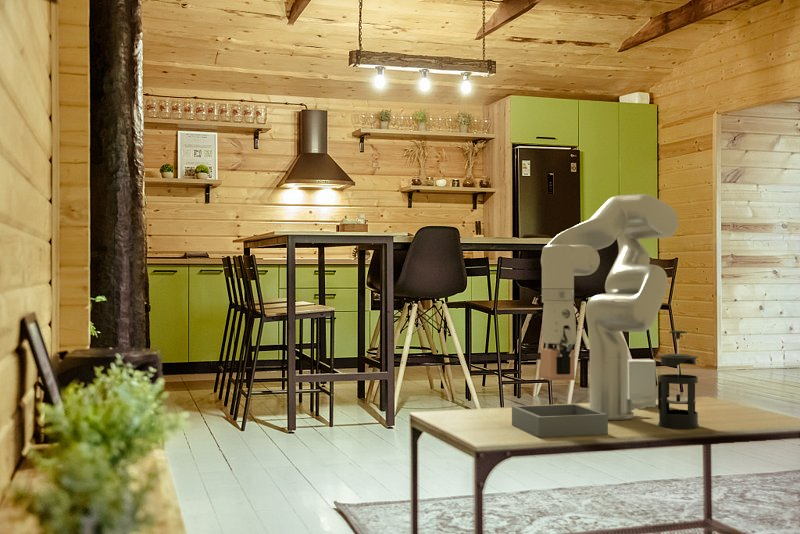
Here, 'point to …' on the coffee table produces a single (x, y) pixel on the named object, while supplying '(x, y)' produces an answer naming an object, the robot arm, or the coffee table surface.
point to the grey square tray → (559, 420)
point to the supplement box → (642, 381)
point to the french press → (677, 416)
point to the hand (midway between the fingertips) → (557, 372)
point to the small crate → (555, 365)
